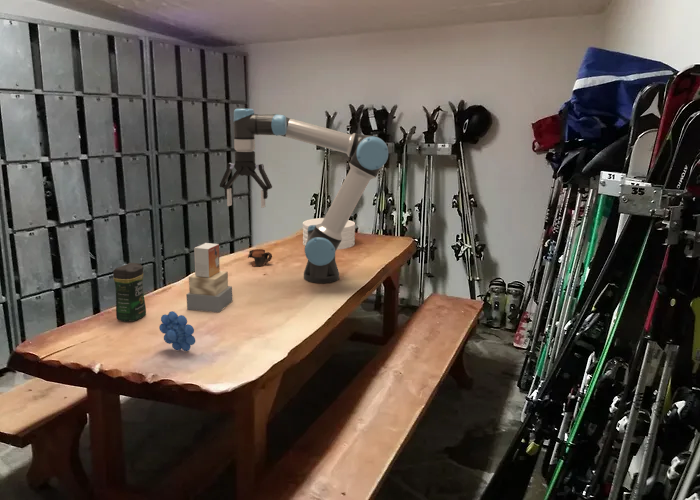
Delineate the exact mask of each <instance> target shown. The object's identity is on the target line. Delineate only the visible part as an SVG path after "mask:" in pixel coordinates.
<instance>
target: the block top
mask: <svg viewBox="0 0 700 500" xmlns="http://www.w3.org/2000/svg"><path fill="white" fill-rule="evenodd" d="M228 274H229V273H228V271H223V270H220V272H219V273H217V274H215V275H213V276H211V277H209V278H208V277H199V276H195V273H194V274H192V275H190V276H188V287H189V289H188V290H189V291H188V292H190V293H191V294H201V295H211V296H216V295H218V294H219V293H221V292H222V291H224V290H225V289H226V288H228V286H229V275H228Z"/></svg>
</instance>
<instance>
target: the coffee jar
mask: <svg viewBox="0 0 700 500" xmlns="http://www.w3.org/2000/svg"><path fill="white" fill-rule="evenodd" d="M112 273H113V274H112V279H113V282H114V286H115V287H114V288H115V316H116V320H118V321H120V322H124V323H127V322H135V321H137V320H139V319H141V318H143V317H144V316H145V315H146V314H147V308H146V301H145V294H144V285H143V283H144V282H143V281H144V267H143V265H142V264H141V263H139V262H138V263H137V262H128V263H127V264H124V265H121V266H119V267H116V268H115V269H113V271H112Z"/></svg>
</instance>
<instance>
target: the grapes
mask: <svg viewBox="0 0 700 500" xmlns="http://www.w3.org/2000/svg"><path fill="white" fill-rule="evenodd" d="M160 321H161V324H159V328H158V329H159V331H160V333H162V334H164V336H163V341H164V342H165V343H166V344H169V345H171V346H172V348H173V349H174V351H181V350H182V351H185V352H189V351H190V349H191V346H193V345H195V343H196V337H195V336H194V332H195V328H194V327H193V325H191V324H189V323H188V319H187V317H186V316H185V315H182V314H180V315H178V313H177V312H175V311H169V312H168V314H162V315H161V317H160Z"/></svg>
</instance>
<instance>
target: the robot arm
mask: <svg viewBox="0 0 700 500" xmlns="http://www.w3.org/2000/svg"><path fill="white" fill-rule="evenodd" d="M232 122H233V134H234V135H233V136H234V137H233V138H234V140H233V141H234V142H233V144H234V150H235V151H234V163H232V162H229V163H226V170H225V171H224V174H223V176H222V179H221V180H220V183H219V187H220V188H223V189H224V198H227V199H226V200H227V201H226V204H227V207H230V206H232V205H233V201H232V200H233V199H232V197H233V196H232V188H231V186H232V185H233V184H234V182H235V181H236V180H237V179H238V177H239V176H246V177H249V176H251V177H252V178H253V179H254V181H255V182H256V183H257V184H258V186H259V187H260V189H262V190H260V202H261V203H260V205H261V206H260V208H262V209H263V208H266V199H268V191H269V190H271V189H272V188H273V185H272V183H271V180H270V179H269V176H268V175H267V173H266V171H265V167H264V164H263V163H260V164H256V152H255V151H254V150H255V147H256V146H255V145H256V144H255V142H256V137H255V136H258V135H260V136H277V137H278V136H281V137H285V138H288V139H292V140H296V141H300V142H304V143H307V144H311V145H313V146H318V147H322V148H326V149H329V150H331V151H337V152H341V153H344V154H346V155H347V157H349V158H351V159H350V160H349V163H348V164H349V167H350V169H349V171H348V173H347V174H346V176H345V178H344V180H343V182H342V184H341V186H340V188H339V190H338V191H337V193H336V196H335V197H334V199H333V201H332V203H331V204H330V207H329V209H328V210H327V212H326V214H325V216H324V217H323V218H324V220H323V221H322V223H321V224H317V225H310V226H309V227H308V231H307V232H308V240H307V243H306V245H305V246H304V254H305V257H306V259H307V262H306V265H305V268H304V271H303V279H304V280H305V281H307V282H310V283H313V284H314V283H316V284H330V283H334V282H337V281H339V280H340V271H339V268H338V265H337V261H336V253H337V250H338V249H337V248H338V246H339V244H340V242H341V240H342V236H341V232H342V231H343V229H344V227H345V225H346V223H347V221H348V220H349V219H350V217H351V216H352V214H353V212H354V210H355V208H356V206H357V204H358V203H359V201H360V199H361V197H362V195H363V193H364V192H365V190H366V188H367V187H368V184H369V183H370V180H371V181H372V179H375V178H377V176H378V174H379V173H380V171H381V169H382V167H383V166H384V165H385V164H386V163H387V161H388V159H389V148H388V146H387V143H386V142H385V141H384V140H383V139H382V138H380V137H378V136H375V135H366V134H361V133H356V132H353V133H352V134H350V133H346V132H343V131H339V130H335V129H331V128H327V127H325V126H324V127H323V126H320V125H316V124H313V123H310V122H305V121H301V120H297V119H293V118H289V117H287V116H286V115H284V114H278V113H274V114H273V113H272V114H256V113H255V110H254V109H253V108H235V109H234V110H233V120H232ZM233 169H235V172H234V173H233V175H232V176H231V177H230V179H229V176H230V174H231V172H232V170H233ZM256 169H257V170H258V171H259V173H260V176H261V178H262V179H261V178H260V176H259V175H258V173H257V172H256ZM228 179H229V180H228ZM227 181H228V182H227Z"/></svg>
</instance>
